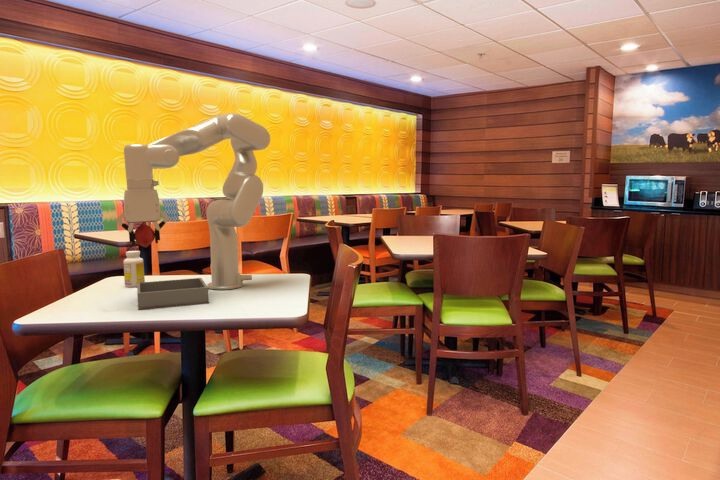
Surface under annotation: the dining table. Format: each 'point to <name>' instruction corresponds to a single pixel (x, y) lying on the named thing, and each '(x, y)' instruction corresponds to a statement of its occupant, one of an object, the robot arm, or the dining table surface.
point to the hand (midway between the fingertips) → (145, 243)
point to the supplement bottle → (133, 269)
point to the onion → (144, 235)
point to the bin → (172, 293)
